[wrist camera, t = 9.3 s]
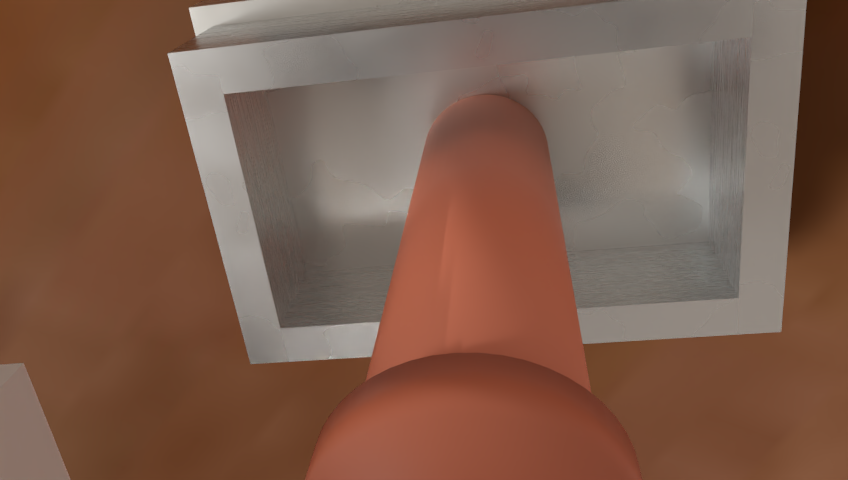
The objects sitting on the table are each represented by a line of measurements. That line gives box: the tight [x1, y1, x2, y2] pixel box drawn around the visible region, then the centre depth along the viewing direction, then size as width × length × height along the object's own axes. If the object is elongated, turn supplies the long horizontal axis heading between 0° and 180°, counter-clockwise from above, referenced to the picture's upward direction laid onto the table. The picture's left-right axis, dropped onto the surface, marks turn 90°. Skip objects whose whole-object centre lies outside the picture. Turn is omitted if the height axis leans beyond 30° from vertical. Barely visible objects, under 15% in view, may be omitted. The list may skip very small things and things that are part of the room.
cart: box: [168, 0, 807, 364], centre depth 22 cm, size 14×15×10 cm
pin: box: [305, 94, 642, 480], centre depth 15 cm, size 4×4×13 cm
